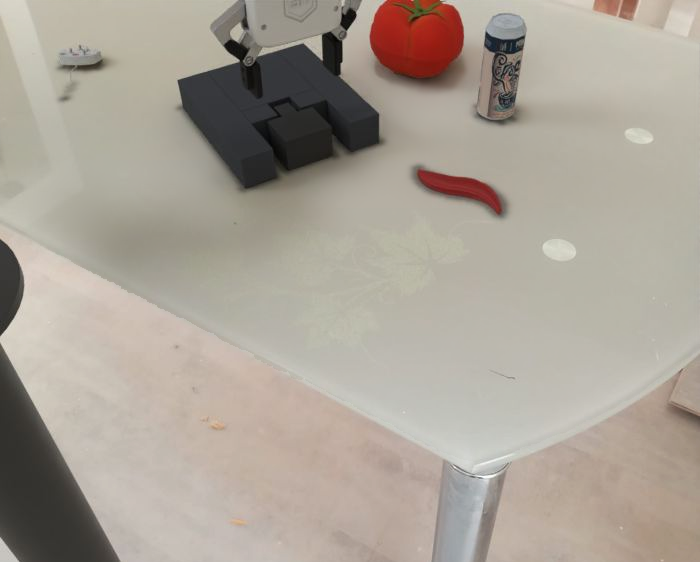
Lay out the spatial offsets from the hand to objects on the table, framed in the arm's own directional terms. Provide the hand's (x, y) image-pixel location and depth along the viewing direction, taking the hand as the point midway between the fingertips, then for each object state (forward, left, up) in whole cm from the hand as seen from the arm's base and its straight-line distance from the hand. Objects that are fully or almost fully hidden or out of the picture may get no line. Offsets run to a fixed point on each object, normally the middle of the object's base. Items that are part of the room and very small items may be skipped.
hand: (293, 81), depth 87 cm
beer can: (+25, -5, -10) cm, 28 cm away
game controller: (-19, +33, -10) cm, 39 cm away
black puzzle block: (0, +1, -9) cm, 10 cm away
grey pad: (0, +7, -10) cm, 12 cm away
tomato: (+23, +10, -10) cm, 27 cm away
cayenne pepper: (+13, -16, -10) cm, 22 cm away
